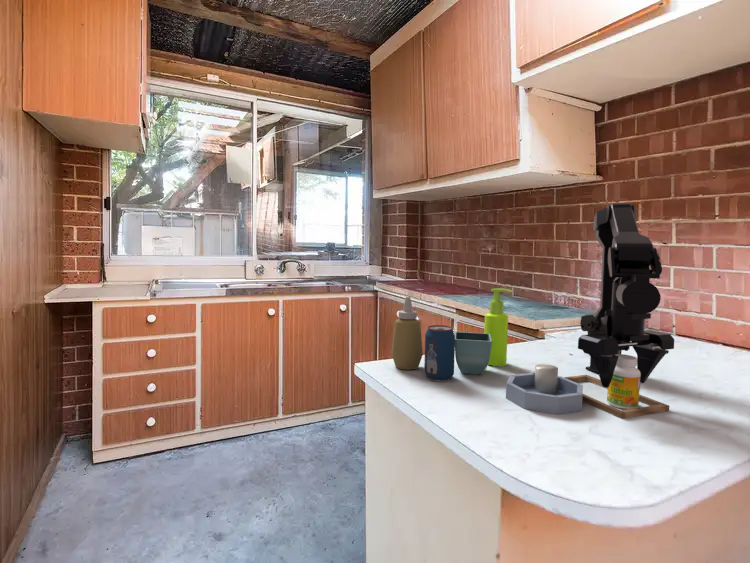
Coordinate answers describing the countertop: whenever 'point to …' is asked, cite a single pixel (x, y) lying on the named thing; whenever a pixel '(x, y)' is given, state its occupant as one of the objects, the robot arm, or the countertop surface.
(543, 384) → the white rounded cylinder
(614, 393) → the supplement bottle
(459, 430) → the countertop surface
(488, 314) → the soap dispenser
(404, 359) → the squeeze bottle
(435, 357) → the soda can
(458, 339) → the flower pot
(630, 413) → the wooden frame
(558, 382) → the bowl
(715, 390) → the countertop surface
